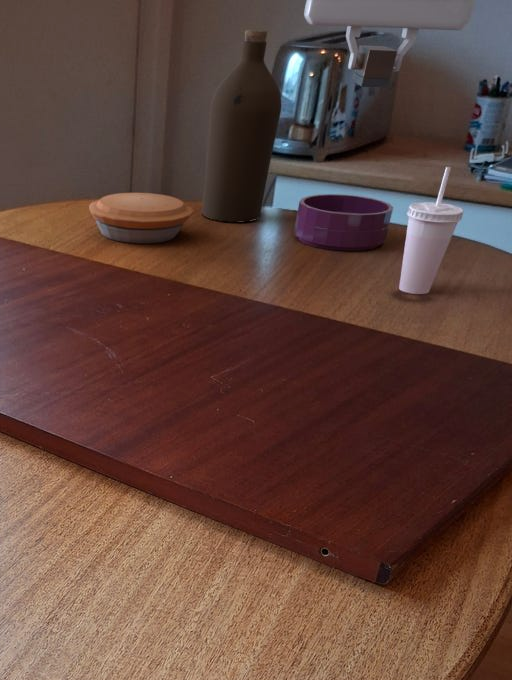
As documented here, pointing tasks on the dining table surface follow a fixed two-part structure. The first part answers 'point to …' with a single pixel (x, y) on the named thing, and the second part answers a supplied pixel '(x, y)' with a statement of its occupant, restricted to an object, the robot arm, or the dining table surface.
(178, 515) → the dining table surface
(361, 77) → the eraser
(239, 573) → the dining table surface
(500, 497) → the dining table surface
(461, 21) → the robot arm
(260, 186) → the olive oil
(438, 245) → the smoothie
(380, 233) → the bowl
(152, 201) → the pie
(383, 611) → the dining table surface
